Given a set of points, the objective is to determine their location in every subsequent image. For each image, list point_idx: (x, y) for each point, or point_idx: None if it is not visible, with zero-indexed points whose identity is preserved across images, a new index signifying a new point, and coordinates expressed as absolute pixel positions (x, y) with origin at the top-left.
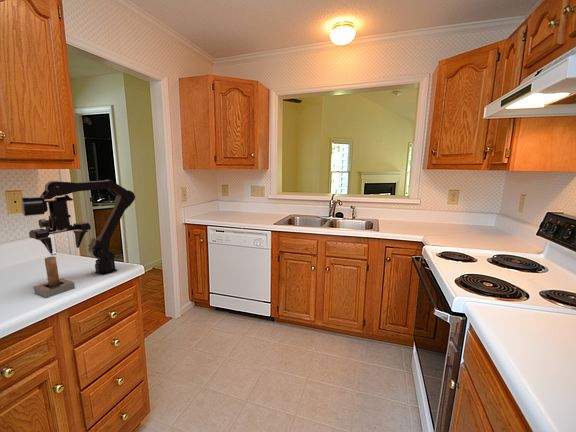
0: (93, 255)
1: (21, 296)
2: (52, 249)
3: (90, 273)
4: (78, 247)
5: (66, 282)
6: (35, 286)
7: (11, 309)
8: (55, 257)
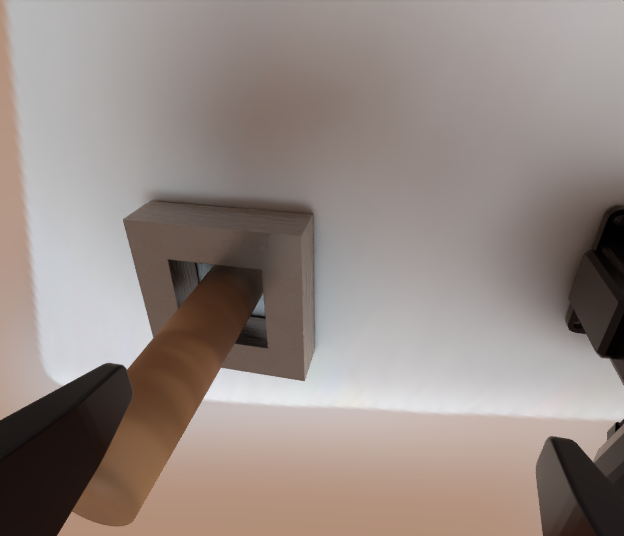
0: (602, 453)
1: (92, 168)
2: (90, 479)
3: (591, 168)
4: (547, 476)
5: (277, 346)
6: (132, 228)
7: (56, 299)
8: (132, 520)
